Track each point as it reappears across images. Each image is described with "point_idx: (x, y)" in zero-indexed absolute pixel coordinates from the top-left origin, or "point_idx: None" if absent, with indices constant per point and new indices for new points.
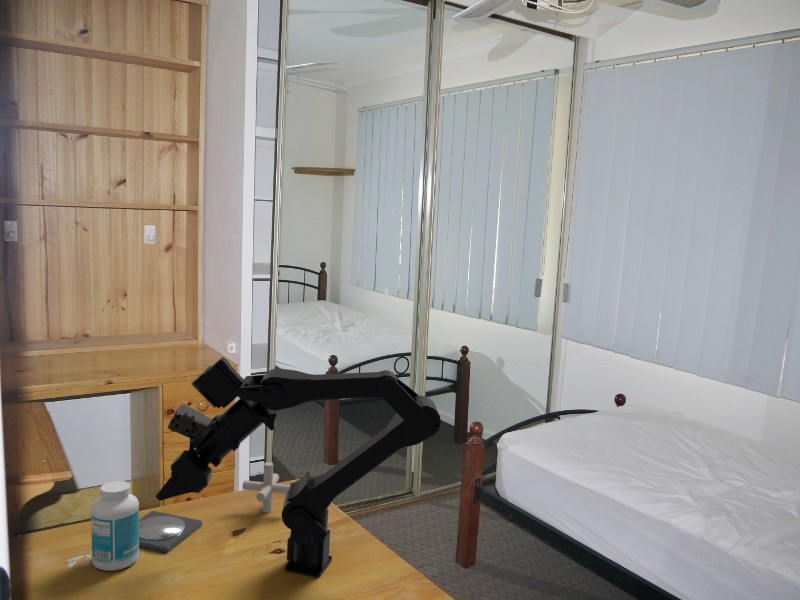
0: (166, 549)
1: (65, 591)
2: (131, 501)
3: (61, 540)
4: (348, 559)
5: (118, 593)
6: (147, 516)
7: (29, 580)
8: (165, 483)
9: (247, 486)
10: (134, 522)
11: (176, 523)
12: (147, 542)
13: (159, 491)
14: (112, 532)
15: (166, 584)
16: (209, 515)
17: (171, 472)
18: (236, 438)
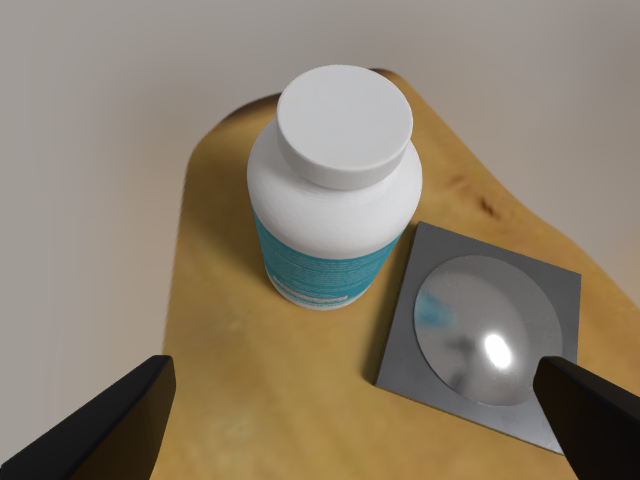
0: (376, 380)
1: (190, 195)
2: (323, 219)
3: None
4: None
5: (167, 311)
6: (543, 271)
7: (239, 121)
8: (19, 459)
9: None
10: (306, 268)
11: (523, 371)
12: (399, 314)
13: (110, 387)
14: (254, 217)
15: (198, 432)
16: None
17: (550, 360)
18: None
